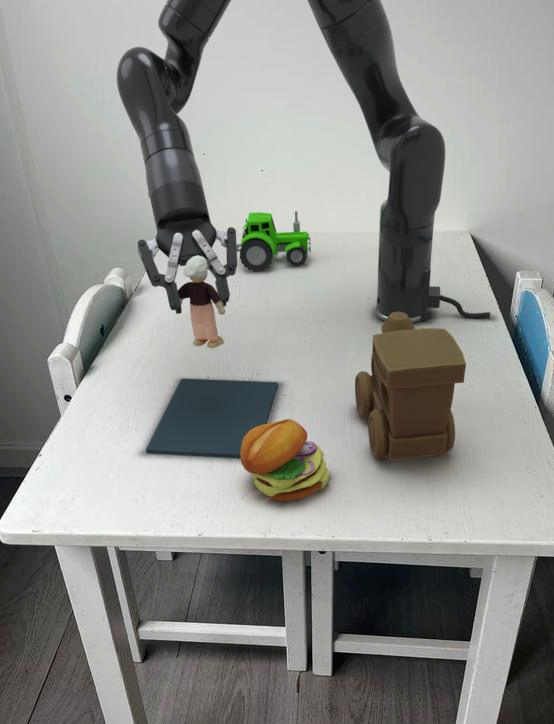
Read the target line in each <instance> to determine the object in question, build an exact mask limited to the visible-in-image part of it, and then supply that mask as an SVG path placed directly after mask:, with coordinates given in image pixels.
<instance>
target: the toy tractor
mask: <svg viewBox="0 0 554 724" xmlns="http://www.w3.org/2000/svg"><path fill="white" fill-rule="evenodd" d="M298 215H299V214H298V211H294V221H293V223H292V225H293V227H292V228H293V231H286V232H285V231H284V232H277V229H276V225H275V221H274V218H273V214H272V213H268V212H262V211H261V212H249V213H248V217H247V218H245V224H244V225H243V228H242V236H241V239H240V243H238V244H237V243H236V245H237V253H239V260H240V262H241V264H242V265H243V267H244V268H246V269H247V270H248V271H252V272H253V273H256V272H257V273H260V272H261V271H265V270H266V269H268V268H269V267H270V265H271V264H272V261H273V258H274V256H276V255H278V254H279V253H285V254H286V256H285V258H286V262H288V265H290V266H293V267H300V266H302V265H304V264H305V263H306V261H307V258H308V253H309V252H312V246H311V245H312V243H311V236H310V234H309V233H308V231H301V223H300V221H299V219H298V218H299V217H298Z"/></svg>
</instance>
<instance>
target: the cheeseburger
mask: <svg viewBox="0 0 554 724" xmlns="http://www.w3.org/2000/svg"><path fill="white" fill-rule="evenodd" d="M240 455H241V458H240V463H241V466H242V467H243V469H244V470H245V471H247V472H248V473H249V474H251V475H252V478H253V481H254V485H255V487H256V488H257V489H258V490H259V491H260V492H261V493H262V494H263V495H264V496H266V497H268V498H270V499H271V500H273V501H277V502H285V503H286V502H291V501H296V500H300V499H304V498H306V497H309V496H311V495H313V494H315V493H316V492H318V491H319V490H320V491H321V490H322V489H324V488H325V486H326V485H327V484H328V482H329V481H330V472H329V469H328V468H327V463H326V461H325V460H324V457H325V453H324V452H323V450H322V449H321V447H320V446H318V445H317V444H316V443H315V442H313V441H309V440H308V432H307V431H306V429H305V428H304V427H303V426H302V425H301V424H300V423H299V422H298V421H295V420H293V419H290V418H288V419H287V418H286V419H282V420H278V421H275V422H269V423H266V424H264V425H261V426H258V427H255V428H253V429H252V430H250V431H249V432H248V433H247V434H246V436H245V437H244V439H243V441H242V446H241V452H240Z"/></svg>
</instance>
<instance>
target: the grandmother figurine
mask: <svg viewBox="0 0 554 724" xmlns="http://www.w3.org/2000/svg"><path fill="white" fill-rule="evenodd" d="M207 267H208V265H207V260H205V258H204V257H201V256H199V255H197V256H194V257H192V258H191V259H190V260H188V262H187V263H186V265H185V266H184V270H183V271H182V274H183V275H184V277H185V278H188V279H190V281H189V282H185V283H183V285H181V286H180V287H179V288H178V294H179V298H180V303H181V306H182V304H183V301H184V300H186V299H189V311H190V312H189V313H190V323H191V328H192V332H193V337H194V339H193V342H192V345H193V346H196V347H202V346H203V345H205V344H206V347H207V348H209V349H215V348H216V349H217V348H218V347H220V346H222V345H224V344H225V340H224V338H223V337H222V336H221V335H219V333H218V327H217V326H218V325H217V322H216V321H217V320H216V314H215V308H216V309H217V313H218V314H219V315H221V316H222V315H224V314H225V313H226V308H225V307H223V303H222V301H221V298H220V296H219V295H218V293H217V289H216V288H215V287H214V285H211V284H210V283H208V282H205V281H206V280H207V278H208V271H209V270H208V269H207ZM213 304H214V306H215V308H214V306H213Z"/></svg>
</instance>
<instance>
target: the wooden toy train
mask: <svg viewBox="0 0 554 724" xmlns="http://www.w3.org/2000/svg"><path fill="white" fill-rule="evenodd" d="M370 358H371V359H370V361H371V362H370V363H371V364H370V370H371V374H370V373H369V372H367V371H364V370H361V371H359V372H358V373H357V374H356V376H355V378H354V395H355V396H354V397H355V405H356V410H357V413H358V415H359V417H361V418H363V419H365V420H367V419H368V421H367V430H368V431H367V432H368V442H369V448H370V451H371V454H372V456H373V457H374V458H375V459H376V460H380V461H382V460H385V459H386V458H387V457H388V458H389V460H390V461H393V460H394V461H395V460H404V459H414V458H424V457H425V458H426V457H434V456H435V457H436V456H442V455H443V456H444V455H446V454H447V453H449V452H450V451H451V450H453V447H454V445H455V441H456V425H455V419H454V414H453V411H452V405H453V400H454V393H455V386H456V385H455V384H463V383H465V376H466V368H467V367H466V366H467V363H466V359H465V356H464V353H463V350H462V349H461V347H460V346H459V344H458V342H457V341H456V339H455V338H454V336H453V335H452V334H451V333H450V332H449V331H448V330H447V329H445V328H427V327H426V328H425V327H424V328H423V327H422V328H416V327H415V323H412V321H411V320H410V318H409V317H408V315H407V314H405V313H403V312H393V313H391V314H390V315H389V316H388V318H387V319H386V321H383V323H382V325H381V333H377V334H373V335H372V354H371V357H370Z"/></svg>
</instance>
